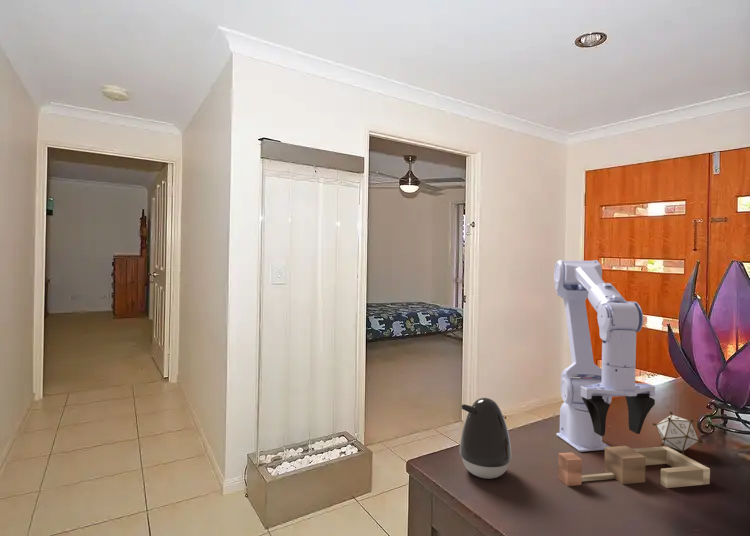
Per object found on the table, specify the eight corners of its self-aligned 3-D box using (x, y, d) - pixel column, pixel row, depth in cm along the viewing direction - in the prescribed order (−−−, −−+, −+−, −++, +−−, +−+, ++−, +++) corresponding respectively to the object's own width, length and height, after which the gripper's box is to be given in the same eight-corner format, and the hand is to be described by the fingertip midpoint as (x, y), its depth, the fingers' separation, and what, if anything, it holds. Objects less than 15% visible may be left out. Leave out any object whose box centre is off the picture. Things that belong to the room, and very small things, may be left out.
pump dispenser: (450, 463, 90) (450, 392, 90) (493, 457, 93) (494, 388, 93) (473, 488, 81) (474, 409, 80) (521, 481, 83) (522, 404, 83)
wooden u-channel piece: (627, 463, 91) (627, 449, 91) (666, 459, 93) (666, 446, 93) (666, 488, 81) (667, 472, 81) (709, 484, 83) (709, 468, 83)
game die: (668, 461, 100) (656, 418, 105) (711, 459, 95) (696, 413, 100) (656, 452, 95) (644, 407, 100) (701, 449, 90) (686, 402, 95)
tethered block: (555, 475, 86) (555, 451, 86) (626, 469, 88) (626, 445, 88) (570, 488, 81) (571, 462, 81) (645, 482, 83) (645, 456, 83)
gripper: (597, 370, 78) (596, 443, 78) (668, 368, 80) (666, 439, 80) (574, 361, 85) (573, 428, 85) (640, 359, 87) (638, 424, 87)
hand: (617, 432), depth 83 cm, fingers open, 7 cm apart
